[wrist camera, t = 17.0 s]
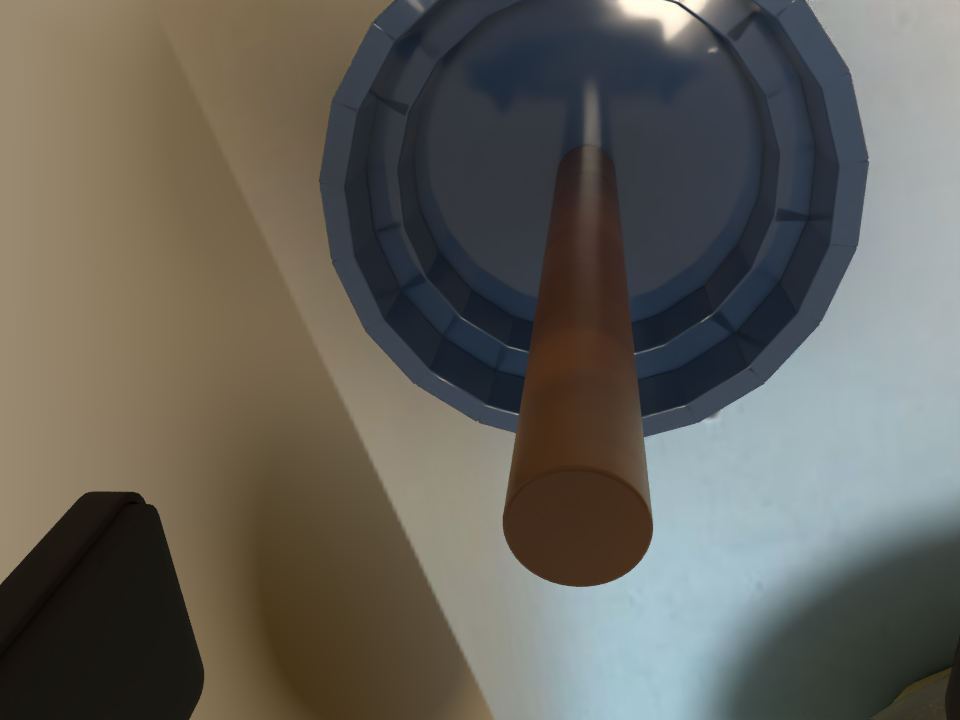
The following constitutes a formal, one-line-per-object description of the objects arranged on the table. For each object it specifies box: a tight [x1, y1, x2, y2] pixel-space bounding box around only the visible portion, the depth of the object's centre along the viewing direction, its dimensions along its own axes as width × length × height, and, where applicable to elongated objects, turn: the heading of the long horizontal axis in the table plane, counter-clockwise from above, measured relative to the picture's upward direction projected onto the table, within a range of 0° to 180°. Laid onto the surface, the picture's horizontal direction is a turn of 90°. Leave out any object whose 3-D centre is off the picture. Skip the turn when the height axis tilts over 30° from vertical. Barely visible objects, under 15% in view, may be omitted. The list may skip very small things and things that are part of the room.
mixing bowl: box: [319, 0, 869, 437], centre depth 27 cm, size 16×16×6 cm
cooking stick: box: [503, 146, 653, 587], centre depth 20 cm, size 2×2×20 cm
